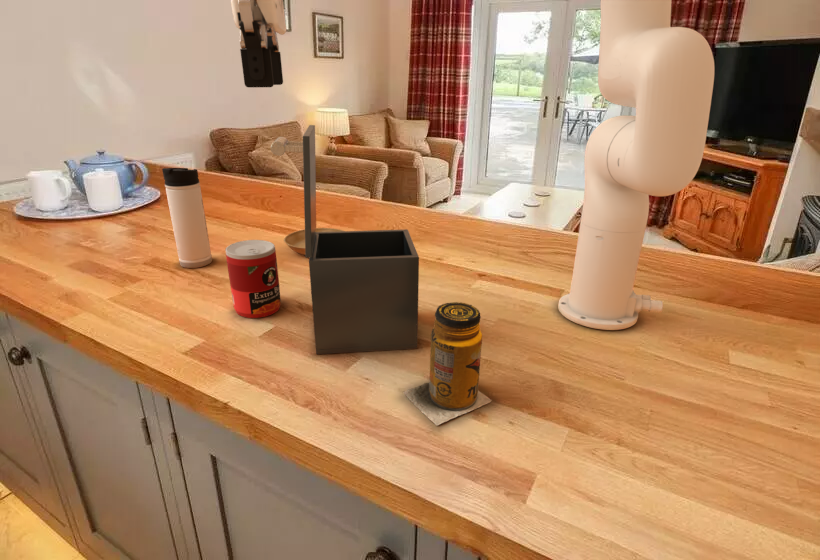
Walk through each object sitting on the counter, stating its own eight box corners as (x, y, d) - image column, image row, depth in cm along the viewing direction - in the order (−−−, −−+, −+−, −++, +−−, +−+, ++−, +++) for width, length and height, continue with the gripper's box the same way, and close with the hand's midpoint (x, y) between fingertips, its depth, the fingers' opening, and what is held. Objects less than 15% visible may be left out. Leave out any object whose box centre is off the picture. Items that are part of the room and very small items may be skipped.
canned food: (257, 323, 78) (248, 259, 74) (223, 311, 82) (214, 249, 78) (291, 305, 84) (285, 245, 80) (259, 294, 88) (251, 236, 84)
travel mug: (171, 266, 100) (152, 167, 92) (195, 256, 106) (179, 162, 98) (195, 270, 98) (177, 170, 90) (218, 260, 104) (204, 164, 96)
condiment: (492, 402, 60) (500, 315, 56) (436, 427, 56) (440, 334, 51) (455, 373, 66) (459, 292, 61) (402, 394, 62) (402, 308, 57)
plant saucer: (275, 257, 105) (273, 246, 104) (297, 236, 119) (296, 226, 118) (342, 261, 104) (341, 249, 103) (357, 239, 117) (356, 228, 116)
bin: (407, 310, 83) (407, 229, 77) (417, 348, 72) (419, 257, 66) (319, 314, 81) (313, 231, 76) (316, 354, 70) (308, 261, 64)
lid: (315, 125, 70) (278, 123, 69) (309, 136, 58) (265, 134, 57) (316, 229, 76) (282, 228, 75) (311, 257, 64) (271, 257, 63)
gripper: (271, -104, 47) (289, 88, 54) (289, -61, 63) (301, 83, 69) (190, -107, 46) (218, 88, 53) (228, -62, 62) (247, 84, 69)
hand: (265, 85), depth 61 cm, fingers open, 9 cm apart
